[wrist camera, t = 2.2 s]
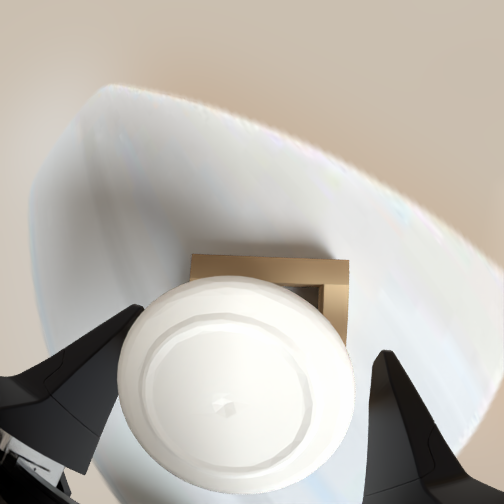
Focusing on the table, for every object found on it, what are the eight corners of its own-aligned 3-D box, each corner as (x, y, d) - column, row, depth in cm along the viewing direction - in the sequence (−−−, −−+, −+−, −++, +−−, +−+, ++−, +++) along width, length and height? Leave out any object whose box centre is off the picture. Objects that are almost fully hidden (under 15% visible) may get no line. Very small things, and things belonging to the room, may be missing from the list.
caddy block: (331, 401, 16) (338, 414, 13) (196, 392, 17) (184, 403, 14) (340, 266, 17) (349, 260, 15) (203, 261, 19) (192, 253, 16)
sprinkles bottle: (242, 290, 18) (138, 242, 5) (311, 308, 17) (393, 307, 4) (224, 357, 17) (98, 449, 4) (292, 376, 16) (309, 519, 3)
